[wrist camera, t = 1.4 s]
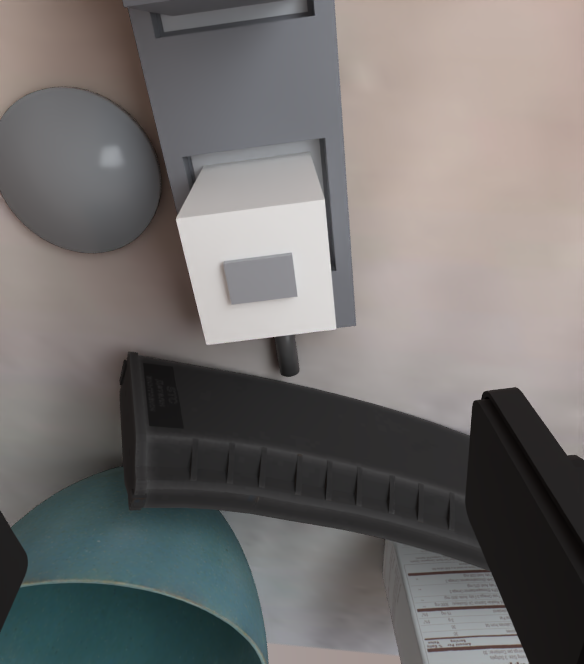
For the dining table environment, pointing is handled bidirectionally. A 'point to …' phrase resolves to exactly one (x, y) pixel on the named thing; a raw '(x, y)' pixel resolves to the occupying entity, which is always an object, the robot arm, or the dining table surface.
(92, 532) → the teal bowl
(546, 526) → the robot arm
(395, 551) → the supplement box
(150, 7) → the block
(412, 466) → the magazine
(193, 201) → the block
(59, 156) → the slate coaster
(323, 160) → the power strip
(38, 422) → the dining table surface
